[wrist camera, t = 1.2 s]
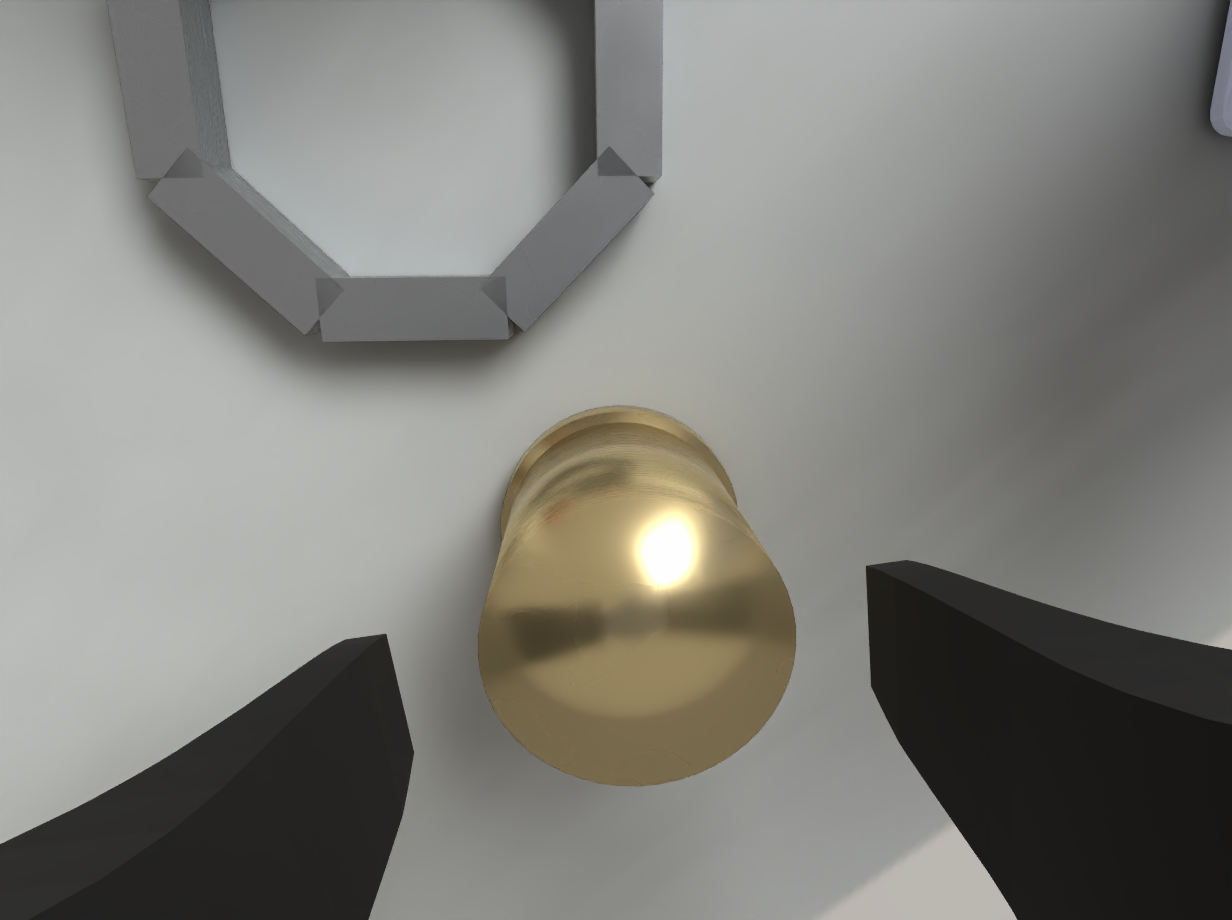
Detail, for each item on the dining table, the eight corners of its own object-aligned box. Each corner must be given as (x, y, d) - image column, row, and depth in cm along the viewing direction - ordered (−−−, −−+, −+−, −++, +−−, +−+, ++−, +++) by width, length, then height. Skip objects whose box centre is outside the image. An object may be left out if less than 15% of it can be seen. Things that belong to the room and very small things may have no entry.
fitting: (735, 403, 16) (819, 481, 11) (728, 617, 18) (799, 790, 12) (499, 407, 16) (453, 489, 10) (509, 624, 18) (474, 803, 12)
